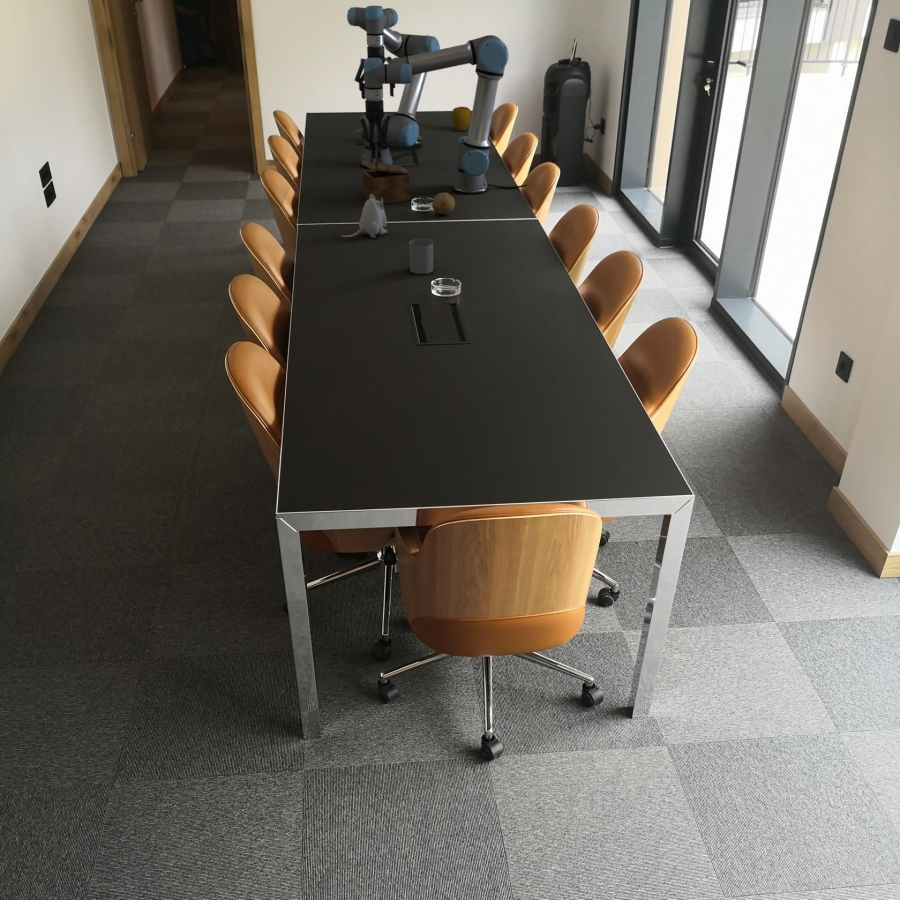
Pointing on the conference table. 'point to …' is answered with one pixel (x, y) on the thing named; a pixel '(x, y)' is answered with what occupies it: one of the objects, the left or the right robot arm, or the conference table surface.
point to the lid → (383, 165)
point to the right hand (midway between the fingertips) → (376, 157)
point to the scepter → (362, 137)
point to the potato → (443, 203)
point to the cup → (421, 256)
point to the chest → (386, 186)
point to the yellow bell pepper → (461, 118)
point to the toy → (372, 218)
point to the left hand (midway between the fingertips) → (377, 97)
